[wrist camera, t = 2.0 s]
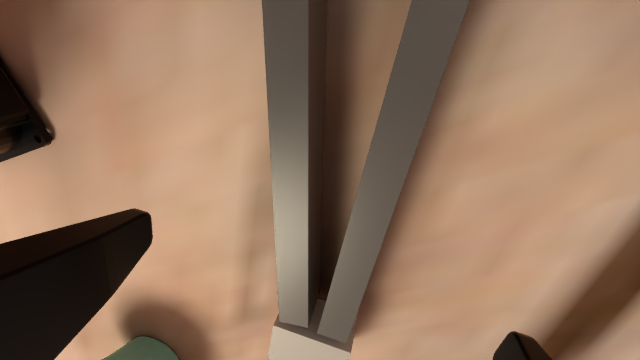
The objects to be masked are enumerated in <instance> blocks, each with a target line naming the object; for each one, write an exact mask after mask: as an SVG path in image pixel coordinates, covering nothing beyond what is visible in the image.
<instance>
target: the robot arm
mask: <svg viewBox="0 0 640 360" xmlns="http://www.w3.org/2000/svg"><path fill="white" fill-rule="evenodd" d="M51 141H52V140H51V137H50V135H49V133H48V132H47V130H46V129H45V127H44V125H43V124H42V122H41V121H40V119H39V118H38V116H37V115H36V113H35V112H34V110H33V108H32V107H31V105H30V104H29V102H28V101H27V99H26V98H25V96H24V95H23V93H22V92H21V90H20V88H19V87H18V85H17V84H16V82H15V81H14V79H13V78H12V76H11V75H10V73H9V72H8V70H7V68H6V67H5V65H4V64H3V62H2V61H1V59H0V162H2V161H5V160H8V159H10V158H13V157H16V156H19V155H22V154H24V153H27V152H30V151H33V150H35V149H38V148H41V147H44V146H46V145H49V144H51ZM152 239H153V235H152V221H151V216H150V214H149V213H148V212H145V211H142V210H139V209H129V210H125V211H122V212H118V213H114V214H110V215H107V216H103V217H99V218H96V219H92V220H88V221H84V222H81V223H77V224H73V225H69V226H66V227H62V228H58V229H54V230H51V231H47V232H43V233H39V234H36V235H32V236H28V237H24V238H21V239H17V240H13V241H10V242H6V243H2V244H0V360H54V359H55V358H56V357H57V356H58V355H59V354H60V353H61V352H62V350H63V349H64V348H65V347H66V346H67V345H68V344H69V343H70V342H71V341H72V339H73V338H74V337H75V336H76V335H77V334H78V333H79V332H80V331H81V330H82V329H83V327H84V326H85V325H86V324H87V323H88V322H89V321H90V320H91V319H92V318H93V317H94V315H95V314H96V313H97V312H98V311H99V310H100V309H101V308H102V307H103V306H104V305H105V303H106V302H107V301H108V300H109V299H110V298H111V297H112V295H113V294H114V293H115V292H116V290H117V289H118V288H119V287H120V285H121V284H122V283H123V281H124V280H125V279H126V277H127V276H128V275H129V273H130V272H131V271H132V269H133V268H134V267H135V265H136V264H137V263H138V261H139V260H140V259H141V257H142V256H143V255H144V253H145V252H146V251H147V249H148V248H149V247H150V245H151V243H152ZM493 360H552V359H551V358H550V357H549V355H548V354H547V353H546V352H545V351H544V350H543V349H542V347H541V346H540V345H539V344H538V343H537V342H536V341H535V340H534V339H533V338H532V337H530V336H528V335H525V334H522V333H518V332H515V331H512V332H510V333H509V334H508V335H507V336H506V338H505V339H504V340H503V342H502V343H501V344H500V346H499V347H498V349H497V350H496V351H495V353H494V356H493Z"/></svg>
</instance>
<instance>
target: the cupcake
mask: <svg viewBox="0 0 640 360" xmlns="http://www.w3.org/2000/svg"><path fill="white" fill-rule="evenodd" d="M102 360H179V358H178V357H177V355H176V354H175V353H174V351H173V350H172V349H170V348H169V347H168V346H167V345H165V344H164V343H162V342H161V341H159V340H156V339H154V338H151V337H145V336H141V337H136V338H134V339H133V340H131V341H130V342H129V343H127V344H126V345H124V346H123V347H122V348H120V349H119V350H117V351H116V352H114V353H113V354H111V355H109V356H108V357H106V358H104V359H102Z"/></svg>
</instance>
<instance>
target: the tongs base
mask: <svg viewBox="0 0 640 360" xmlns="http://www.w3.org/2000/svg"><path fill="white" fill-rule="evenodd" d="M469 1H470V0H412V2H411V6H410V9H409V13H408V16H407V20H406V23H405V27H404V30H403V34H402V37H401V41H400V44H399V48H398V51H397V55H396V58H395V62H394V65H393V69H392V72H391V76H390V79H389V83H388V86H387V90H386V93H385V97H384V100H383V104H382V107H381V111H380V114H379V118H378V121H377V125H376V128H375V132H374V135H373V139H372V142H371V146H370V150H369V153H368V157H367V160H366V164H365V167H364V171H363V174H362V178H361V181H360V185H359V188H358V192H357V195H356V199H355V202H354V206H353V209H352V213H351V216H350V220H349V223H348V227H347V230H346V234H345V237H344V241H343V244H342V248H341V251H340V255H339V258H338V262H337V265H336V269H335V272H334V276H333V279H332V283H331V286H330V290H329V293H328V297H327V300H326V301H324V300H321V299H319V298H318V299H317V302H316V305H315V308H314V311H313V314H312V317H311V321H310V324H309V327H308V328H306V327H301V326H297V325H292V324H288V323H283V322H279V314H278V317H277V319H276V321H275V323H274V325H273V331H272V336H271V342H270V347H269V353H268V359H271V360H348V359H349V357H350V354H351V349H352V344H353V338H354V333H355V327H356V322H357V316H358V309H359V306H360V304H361V301H362V298H363V295H364V293H365V290H366V287H367V284H368V281H369V279H370V276H371V273H372V270H373V268H374V265H375V262H376V259H377V256H378V254H379V251H380V248H381V245H382V243H383V240H384V237H385V234H386V231H387V229H388V226H389V223H390V220H391V218H392V215H393V212H394V209H395V206H396V204H397V201H398V198H399V195H400V193H401V190H402V187H403V184H404V181H405V179H406V176H407V173H408V170H409V168H410V165H411V162H412V159H413V157H414V154H415V151H416V148H417V145H418V143H419V140H420V137H421V134H422V132H423V129H424V126H425V123H426V120H427V118H428V115H429V112H430V109H431V107H432V104H433V101H434V98H435V95H436V93H437V90H438V87H439V84H440V82H441V79H442V76H443V73H444V70H445V68H446V65H447V62H448V59H449V57H450V54H451V51H452V48H453V45H454V43H455V40H456V37H457V34H458V32H459V29H460V26H461V23H462V20H463V18H464V15H465V12H466V9H467V7H468V4H469Z"/></svg>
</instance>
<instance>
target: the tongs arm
mask: <svg viewBox="0 0 640 360" xmlns="http://www.w3.org/2000/svg"><path fill="white" fill-rule="evenodd" d="M326 5H327V0H262V9H263V27H264V46H265V64H266V83H267V101H268V119H269V138H270V156H271V175H272V193H273V211H274V230H275V248H276V267H277V285H278V303H279V322H283V323H288V324H292V325H297V326H301V327H306V328H308V327H309V324H310V321H311V317H312V314H313V311H314V308H315V305H316V302H317V299H318V296H319V293H320V265H321V221H322V178H323V135H324V91H325V48H326Z"/></svg>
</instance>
